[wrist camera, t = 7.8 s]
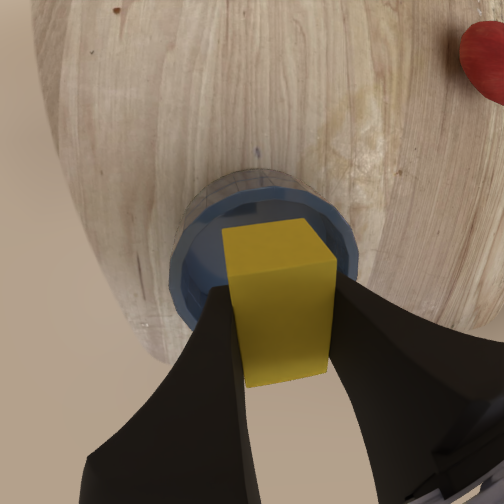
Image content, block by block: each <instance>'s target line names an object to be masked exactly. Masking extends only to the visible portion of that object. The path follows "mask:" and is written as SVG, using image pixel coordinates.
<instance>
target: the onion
mask: <svg viewBox="0 0 504 504" xmlns="http://www.w3.org/2000/svg"><path fill="white" fill-rule="evenodd" d="M459 50H460V58H459V60H460V64H461V66H462V68H463V70H464V72H465V74H466V75H467V77H468V79H469V80H470V82H471V83H472V84H473V85H474V87H475V88H476V89H477V90H478V91H479V92H480V93H481V94H482V95H483V96H484V97H486V98H488V99H490V100H492V101H494V102H496V103H498V104H501V105H503V106H504V23H501V22H497V21H483V22H477V23H475V24H473V25H471V26H470V27H469V28H468V29H467V31H466V32H465V33H464V34H463V36H462V38H461V43H460V49H459Z"/></svg>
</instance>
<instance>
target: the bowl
mask: <svg viewBox="0 0 504 504" xmlns="http://www.w3.org/2000/svg"><path fill="white" fill-rule="evenodd" d="M299 218H304V219H305V220H306V221H307V222H308V224H309V225H310V226H311V227H312V228H313V230H314V231H315V232H316V233H317V235H318V236H319V237H320V238H321V240H322V241H323V242H324V243H325V245H326V246H327V247H328V248H329V250H330V251H331V252H332V253H333V255H334V256H335V257H336V259H337V270H338V271H339V272H341V273H343V274H344V275H346V276H348V277H349V278H351V279H353V280H354V281H356V280H357V276H358V259H359V253H358V252H359V251H358V248H357V244H356V241H355V238H354V235H353V232H352V229H351V227H350V225H349V224H348V223H347V222H346V220H345V219H344V218H343V217H342V215H341V214H340V213H339V212H338V210H337V209H336V208H335V207H334V206H333V205H332V204H331V203H329V202H328V201H327V200H326V199H325V198H324V197H322V196H321V195H320V194H319V193H318V192H316V191H315V190H314V189H313V188H311V187H310V186H308V185H307V184H305V183H303V182H302V181H301V180H299V179H297V178H295V177H293V176H291V175H289V174H286V173H283V172H280V171H275V170H269V169H250V170H243V171H239V172H234V173H231V174H229V175H226V176H223V177H222V178H220V179H218V180H216V181H214V182H212V183H211V184H210V185H208V186H207V187H205V188H204V189H203V190H202V191H201V192H200V193H199V194H198V195H197V196H196V197H195V198H194V199H193V200H192V202H191V203H190V204H189V205H188V207H187V209H186V210H185V212H184V214H183V216H182V218H181V221H180V223H179V226H178V229H177V231H176V235H175V240H174V244H173V249H172V254H171V258H170V269H169V290H170V293H171V296H172V299H173V302H174V305H175V308H176V311H177V313H178V314H179V316H180V317H181V318H182V319H183V321H184V322H185V323H186V324H187V325H188V327H189V328H190V329H191V330H192V331H194V329H195V326H196V324H197V322H198V320H199V318H200V315H201V313H202V311H203V308H204V305H205V303H206V300H207V297H208V293H209V290H210V289H211V288H212V287H216V286H223V285H229V283H228V277H227V269H226V261H225V253H224V245H223V237H222V229H224V228H231V227H239V226H246V225H253V224H261V223H268V222H276V221H283V220H291V219H299Z"/></svg>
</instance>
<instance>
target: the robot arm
mask: <svg viewBox="0 0 504 504" xmlns="http://www.w3.org/2000/svg"><path fill="white" fill-rule="evenodd" d="M329 358H330V360H331V362H332V364H333V366H334V368H335V370H336V372H337V374H338V376H339V378H340V380H341V382H342V384H343V386H344V388H345V390H346V392H347V394H348V396H349V398H350V401H351V403H352V406H353V409H354V412H355V415H356V418H357V421H358V424H359V426H360V429H361V433H362V436H363V439H364V443H365V446H366V449H367V453H368V457H369V461H370V465H371V469H372V472H373V477H374V482H375V486H376V491H377V496H378V502H379V504H451V503H452V502H454V501H455V500H457V499H458V498H460V497H462V496H463V495H465V494H466V493H468V492H469V491H471V490H472V489H474V488H475V487H477V486H478V485H480V484H481V483H482V485H481V488H480V492H479V493H478V494H477V495H475V496H474V497H472V498H471V499H469V500H468V501H466V502H464V503H463V504H504V342H497V341H492V340H487V339H483V338H479V337H474V336H471V335H468V334H464V333H461V332H458V331H455V330H452V329H449V328H446V327H443V326H440V325H438V324H435V323H433V322H430V321H428V320H426V319H423V318H421V317H419V316H416V315H414V314H412V313H410V312H408V311H406V310H404V309H402V308H400V307H398V306H397V305H395V304H393V303H391V302H389V301H387V300H386V299H384V298H382V297H380V296H379V295H377V294H375V293H374V292H372V291H370V290H369V289H367V288H365V287H364V286H362V285H361V284H359V283H357V282H356V281H354V280H353V279H351V278H349V277H348V276H346V275H344V274H343V273H341V272H339V271H338V270H336V285H335V298H334V310H333V321H332V331H331V341H330V349H329ZM79 504H261V500H260V495H259V489H258V484H257V479H256V474H255V469H254V463H253V458H252V452H251V447H250V441H249V434H248V429H247V420H246V409H245V392H244V373H243V367H242V361H241V355H240V349H239V344H238V338H237V332H236V326H235V319H234V313H233V307H232V302H231V296H230V289H229V285H223V286H216V287H212V288H211V289H210V290H209V293H208V297H207V300H206V303H205V305H204V308H203V311H202V313H201V315H200V318H199V320H198V322H197V324H196V326H195V329H194V331H193V333H192V335H191V337H190V338H189V340H188V342H187V344H186V346H185V348H184V350H183V351H182V353H181V355H180V356H179V358H178V360H177V361H176V363H175V364H174V366H173V367H172V369H171V370H170V372H169V373H168V375H167V376H166V378H165V379H164V380H163V382H162V383H161V384H160V386H159V387H158V388H157V389H156V391H155V392H154V393H153V394H152V396H151V397H150V398H149V399H148V400H147V402H146V403H145V404H144V405H143V406H142V407H141V408H140V409H139V410H138V411H137V412H136V413H135V414H134V416H133V417H132V418H131V419H130V420H129V421H128V422H127V423H126V424H125V425H124V426H123V427H122V428H121V429H120V430H119V431H118V432H117V433H115V434H114V435H113V436H112V437H111V438H110V439H108V440H107V441H106V442H105V443H104V444H102V445H101V446H100V447H99V448H98V449H96V450H95V451H94V452H93V453H91V454H90V455H89V456H88V457H87V460H86V464H85V467H84V471H83V476H82V481H81V489H80V497H79Z"/></svg>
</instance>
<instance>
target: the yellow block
mask: <svg viewBox="0 0 504 504" xmlns="http://www.w3.org/2000/svg"><path fill="white" fill-rule="evenodd" d="M222 237H223V245H224V253H225V261H226V269H227V277H228V283H229V289H230V296H231V302H232V307H233V313H234V319H235V326H236V332H237V338H238V344H239V349H240V355H241V361H242V367H243V373H244V379H245V384H246V387H247V388H251V387H257V386H263V385H269V384H274V383H280V382H285V381H291V380H295V379H300V378H304V377H310V376H314V375H318V374H322V373H326V372H327V366H328V358H329V349H330V341H331V331H332V321H333V310H334V298H335V285H336V270H337V259H336V257H335V256H334V255H333V253H332V252H331V251H330V250H329V248H328V247H327V246H326V245H325V243H324V242H323V241H322V240H321V238H320V237H319V236H318V235H317V233H316V232H315V231H314V230H313V228H312V227H311V226H310V225H309V224H308V222H307V221H306V220H305V219H304V218H299V219H291V220H283V221H276V222H268V223H261V224H253V225H246V226H239V227H231V228H224V229H222Z"/></svg>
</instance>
